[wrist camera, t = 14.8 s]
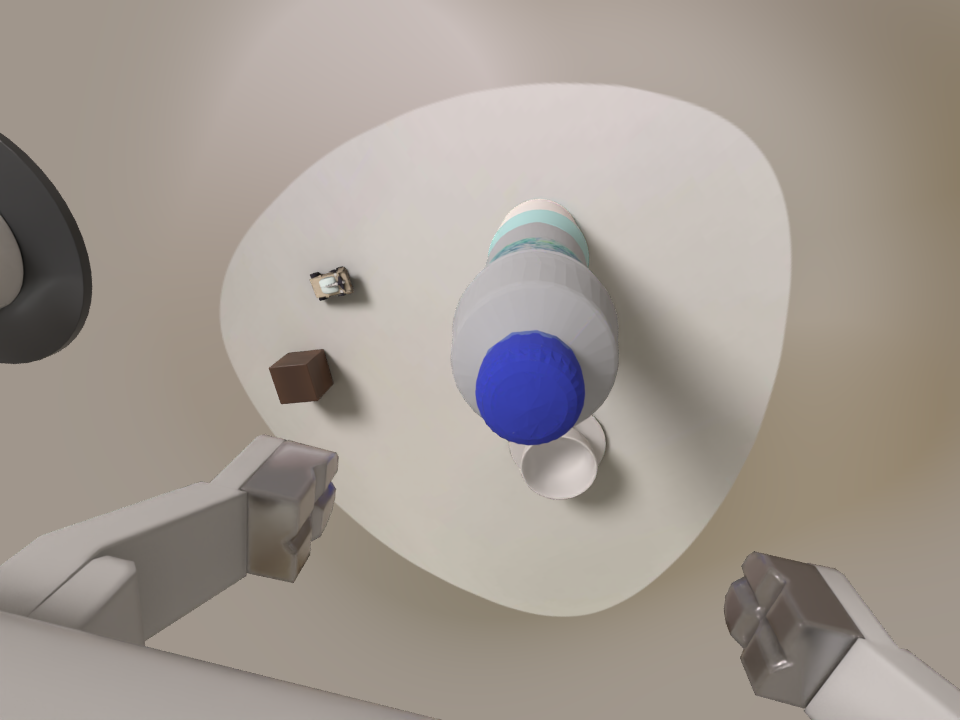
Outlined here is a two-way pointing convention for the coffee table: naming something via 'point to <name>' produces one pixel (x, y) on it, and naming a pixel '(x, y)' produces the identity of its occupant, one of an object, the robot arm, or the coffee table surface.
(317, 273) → the toy car
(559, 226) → the can
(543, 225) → the bottle
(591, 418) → the teacup
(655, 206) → the coffee table surface
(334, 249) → the coffee table surface
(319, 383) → the walnut block
